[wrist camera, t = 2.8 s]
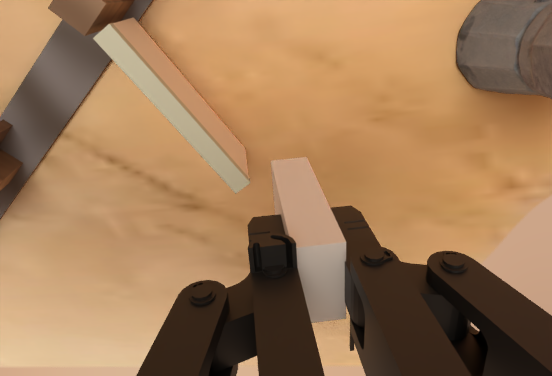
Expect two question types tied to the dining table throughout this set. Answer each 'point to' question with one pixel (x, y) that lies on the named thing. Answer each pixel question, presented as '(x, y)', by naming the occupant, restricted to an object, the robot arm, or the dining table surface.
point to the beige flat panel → (175, 99)
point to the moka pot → (508, 47)
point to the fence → (56, 86)
